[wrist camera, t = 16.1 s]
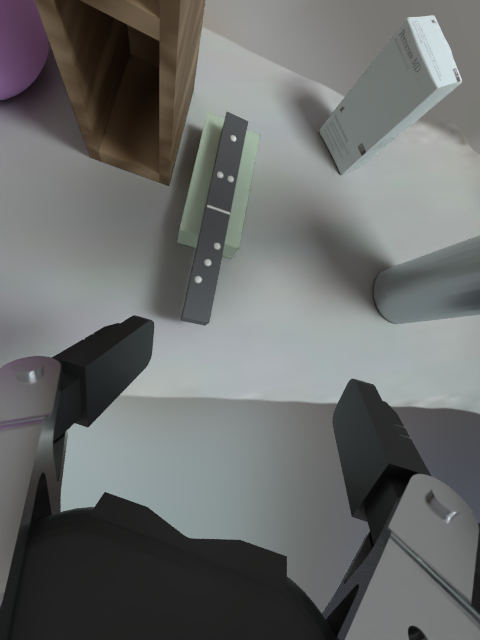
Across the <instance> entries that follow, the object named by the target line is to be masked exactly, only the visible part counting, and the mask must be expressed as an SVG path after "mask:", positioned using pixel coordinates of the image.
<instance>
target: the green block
mask: <svg viewBox="0 0 480 640" xmlns="http://www.w3.org/2000/svg"><path fill="white" fill-rule="evenodd" d="M224 120H225V119H224V118H222V117H220V116H218V115H215V114H213V113H211V112H209V111H207V115H206V119H205V123H204V128H203V132H202V136H201V140H200V144H199V149H198V153H197V157H196V161H195V165H194V170H193V174H192V178H191V182H190V186H189V191H188V195H187V199H186V203H185V207H184V212H183V216H182V220H181V224H180V228H179V234H178V240H177V243H180V244H183V245H187V246H190V247H193V248H196V246H197V242H198V237H199V232H200V228H201V223H202V219H203V214H204V209H205V205H206V200H207V195H208V191H209V186H210V182H211V177H212V172H213V168H214V163H215V158H216V154H217V149H218V145H219V140H220V135H221V131H222V127H223V124H224ZM259 138H260V135H259V134H257V133H254V132H252V131H250V130H248V129H247V131H246V136H245V141H244V146H243V151H242V156H241V161H240V167H239V172H238V177H237V182H236V187H235V192H234V197H233V203H232V208H231V213H230V218H229V223H228V228H227V233H226V238H225V244H224V249H223V254H222V256H223V257H227V258H230V259H231V258H232V256H233V255H234V254H235V253H236V251H237V250H238V249H239V245H240V239H241V234H242V229H243V223H244V218H245V213H246V207H247V202H248V197H249V191H250V186H251V181H252V175H253V170H254V164H255V159H256V154H257V148H258V143H259Z"/></svg>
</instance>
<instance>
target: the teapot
mask: <svg viewBox="0 0 480 640" xmlns="http://www.w3.org/2000/svg"><path fill="white" fill-rule="evenodd" d="M48 50H49V40H48V37H47V34H46V31H45V28H44V25H43V23H42V20H41V17H40V14H39V11H38V9H37V6H36V3H35V0H0V100H5V99H8V98H11V97H13V96H16V95H17V94H19V93H21V92H23V91H24V90H25V89H27V88H28V87H29V86H30V85H31V84H32V83H33V82H34V81H35V79H36V78H37V77H38V75H39V74H40V72H41V70H42V69H43V67H44V65H45V62H46V59H47V56H48Z"/></svg>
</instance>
